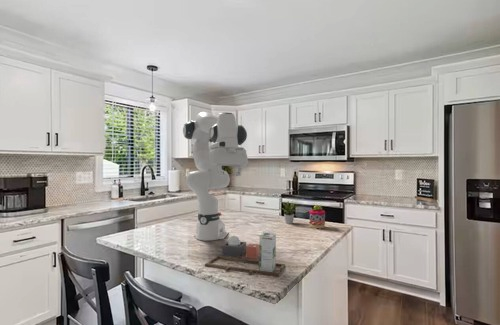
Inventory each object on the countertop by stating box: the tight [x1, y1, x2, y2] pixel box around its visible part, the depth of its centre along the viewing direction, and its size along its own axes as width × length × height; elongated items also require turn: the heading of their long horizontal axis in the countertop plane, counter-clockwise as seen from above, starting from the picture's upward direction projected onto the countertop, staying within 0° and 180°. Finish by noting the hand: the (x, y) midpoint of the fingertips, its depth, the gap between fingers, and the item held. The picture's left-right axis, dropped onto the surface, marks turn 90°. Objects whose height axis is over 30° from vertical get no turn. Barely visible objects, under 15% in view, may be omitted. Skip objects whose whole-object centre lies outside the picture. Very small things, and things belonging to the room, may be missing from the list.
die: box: [245, 243, 259, 259], centre depth 132 cm, size 5×5×6 cm
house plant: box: [280, 200, 300, 225], centre depth 200 cm, size 14×14×16 cm
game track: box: [204, 255, 286, 278], centre depth 119 cm, size 15×32×1 cm, turn 70°
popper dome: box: [227, 235, 241, 247], centre depth 136 cm, size 6×6×5 cm
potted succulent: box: [308, 205, 326, 229], centre depth 189 cm, size 10×11×15 cm
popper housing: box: [221, 241, 247, 258], centre depth 136 cm, size 9×9×4 cm
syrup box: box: [258, 232, 277, 272], centre depth 115 cm, size 6×6×14 cm
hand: (230, 175), depth 128 cm, fingers open, 8 cm apart
